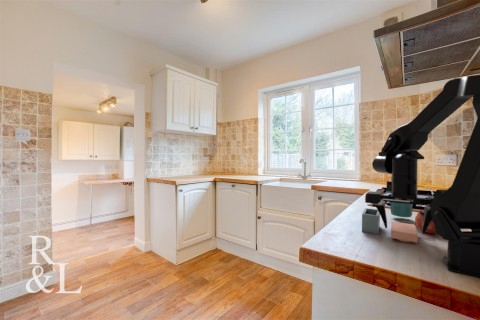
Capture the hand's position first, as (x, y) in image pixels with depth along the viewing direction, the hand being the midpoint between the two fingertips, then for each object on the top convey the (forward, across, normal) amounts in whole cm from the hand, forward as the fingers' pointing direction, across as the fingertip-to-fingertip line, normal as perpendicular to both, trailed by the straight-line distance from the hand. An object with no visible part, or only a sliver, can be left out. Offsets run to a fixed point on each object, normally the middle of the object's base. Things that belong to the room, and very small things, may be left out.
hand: (403, 230), depth 62 cm
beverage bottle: (+2, 0, -22) cm, 22 cm away
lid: (+1, 0, 0) cm, 1 cm away
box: (+2, +8, -3) cm, 9 cm away
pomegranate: (+2, -7, -10) cm, 13 cm away
